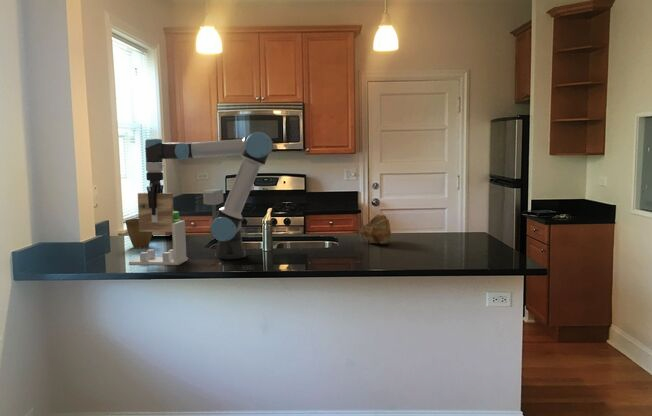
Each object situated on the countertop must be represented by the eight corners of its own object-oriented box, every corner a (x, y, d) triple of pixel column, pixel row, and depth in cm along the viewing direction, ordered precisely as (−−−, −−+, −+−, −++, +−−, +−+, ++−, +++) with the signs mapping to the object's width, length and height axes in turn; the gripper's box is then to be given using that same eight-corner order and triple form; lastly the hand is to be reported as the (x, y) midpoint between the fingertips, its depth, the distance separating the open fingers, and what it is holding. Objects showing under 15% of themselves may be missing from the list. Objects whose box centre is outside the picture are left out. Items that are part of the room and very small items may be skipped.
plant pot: (161, 246, 297) (159, 218, 295) (140, 251, 284) (138, 221, 282) (141, 245, 304) (140, 217, 302) (120, 249, 291) (119, 220, 289)
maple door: (170, 232, 248) (169, 193, 247) (137, 231, 250) (136, 193, 248) (174, 230, 253) (172, 192, 251) (142, 230, 255) (140, 192, 253)
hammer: (216, 242, 310) (215, 190, 307) (204, 242, 311) (202, 190, 308) (225, 238, 325) (223, 189, 322) (213, 238, 326) (211, 189, 323)
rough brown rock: (357, 239, 313) (357, 214, 312) (386, 238, 314) (385, 213, 313) (362, 246, 290) (362, 218, 289) (392, 245, 291) (392, 218, 289)
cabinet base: (178, 264, 246) (176, 223, 244) (129, 264, 249) (126, 223, 247) (187, 259, 258) (186, 220, 256) (140, 259, 261) (138, 220, 259)
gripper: (154, 172, 241) (156, 223, 243) (169, 171, 257) (171, 219, 259) (139, 172, 242) (141, 223, 244) (154, 171, 258) (156, 219, 260)
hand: (156, 221), depth 252 cm, fingers closed on maple door, 3 cm apart
